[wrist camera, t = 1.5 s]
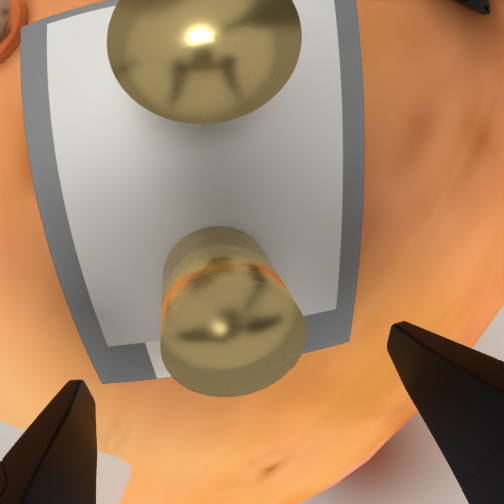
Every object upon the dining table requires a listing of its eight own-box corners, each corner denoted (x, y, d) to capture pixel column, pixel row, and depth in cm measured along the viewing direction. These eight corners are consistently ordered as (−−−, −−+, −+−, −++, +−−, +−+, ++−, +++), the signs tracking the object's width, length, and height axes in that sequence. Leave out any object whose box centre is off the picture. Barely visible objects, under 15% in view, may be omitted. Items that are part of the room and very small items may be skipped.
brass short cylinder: (253, 6, 9) (294, -43, 5) (260, 116, 11) (307, 117, 7) (131, 16, 9) (107, -34, 5) (138, 129, 10) (113, 138, 6)
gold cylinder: (266, 219, 13) (308, 270, 9) (270, 311, 15) (303, 381, 11) (153, 234, 12) (144, 296, 8) (173, 327, 14) (177, 405, 10)
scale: (333, 9, 13) (373, -11, 10) (333, 320, 21) (360, 357, 17) (40, 36, 11) (5, 19, 7) (107, 357, 18) (98, 403, 15)
